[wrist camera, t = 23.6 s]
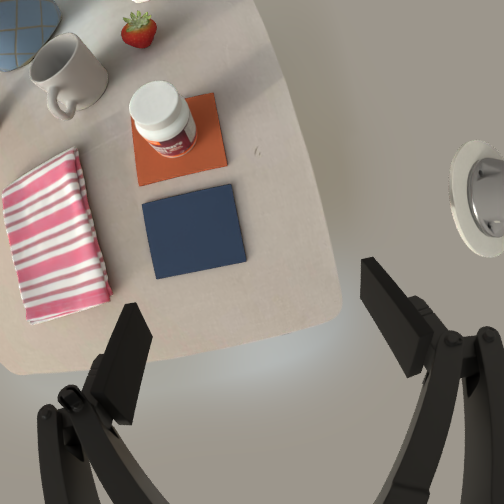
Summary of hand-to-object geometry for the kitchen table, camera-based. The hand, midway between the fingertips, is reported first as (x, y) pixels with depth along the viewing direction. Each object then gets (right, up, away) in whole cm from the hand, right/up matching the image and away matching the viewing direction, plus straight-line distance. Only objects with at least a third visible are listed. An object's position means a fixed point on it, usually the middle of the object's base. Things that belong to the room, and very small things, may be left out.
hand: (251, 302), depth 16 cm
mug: (-26, +27, +19) cm, 42 cm away
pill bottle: (-10, +18, +20) cm, 28 cm away
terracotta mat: (-10, +18, +20) cm, 29 cm away
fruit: (-17, +35, +19) cm, 43 cm away
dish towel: (-30, +5, +20) cm, 36 cm away
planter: (-46, +47, +17) cm, 68 cm away
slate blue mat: (-7, +5, +21) cm, 23 cm away
